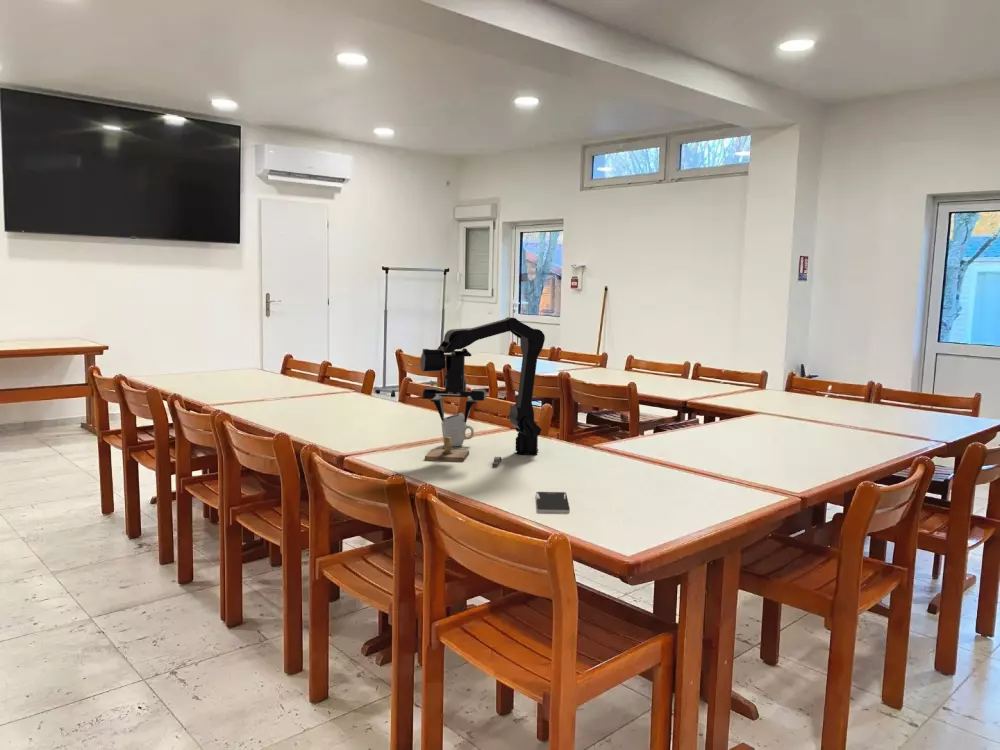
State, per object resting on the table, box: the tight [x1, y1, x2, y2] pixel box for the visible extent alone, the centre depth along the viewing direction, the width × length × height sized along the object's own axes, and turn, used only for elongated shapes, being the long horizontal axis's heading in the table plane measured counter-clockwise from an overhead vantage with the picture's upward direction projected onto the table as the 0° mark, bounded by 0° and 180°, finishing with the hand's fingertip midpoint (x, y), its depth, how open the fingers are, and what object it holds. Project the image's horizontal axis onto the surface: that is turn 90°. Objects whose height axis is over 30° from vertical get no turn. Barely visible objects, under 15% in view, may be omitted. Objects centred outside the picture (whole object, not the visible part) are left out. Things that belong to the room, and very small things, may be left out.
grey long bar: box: [491, 456, 502, 468], centre depth 219 cm, size 2×9×2 cm, turn 173°
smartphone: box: [535, 490, 571, 514], centre depth 179 cm, size 8×1×15 cm
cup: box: [441, 421, 475, 448], centre depth 243 cm, size 11×8×8 cm
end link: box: [443, 412, 468, 433], centre depth 223 cm, size 6×6×4 cm
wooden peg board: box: [424, 437, 470, 462], centre depth 227 cm, size 12×10×6 cm
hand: (454, 421), depth 224 cm, fingers closed on end link, 7 cm apart
